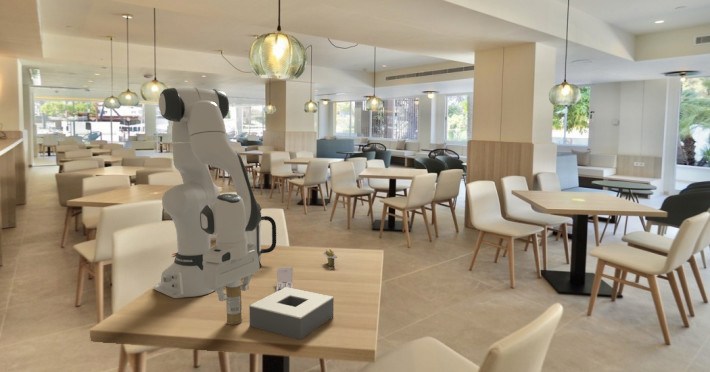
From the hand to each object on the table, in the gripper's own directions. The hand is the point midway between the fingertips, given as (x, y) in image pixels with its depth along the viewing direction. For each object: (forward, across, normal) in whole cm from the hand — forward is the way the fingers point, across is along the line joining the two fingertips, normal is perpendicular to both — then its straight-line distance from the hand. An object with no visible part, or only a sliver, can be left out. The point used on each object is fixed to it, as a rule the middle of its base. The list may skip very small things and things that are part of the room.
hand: (234, 295), depth 133 cm
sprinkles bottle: (+9, 0, -1) cm, 9 cm away
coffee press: (+8, -48, -36) cm, 61 cm away
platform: (+10, -66, -6) cm, 67 cm away
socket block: (+9, -9, +14) cm, 19 cm away
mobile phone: (+9, -28, -3) cm, 30 cm away
